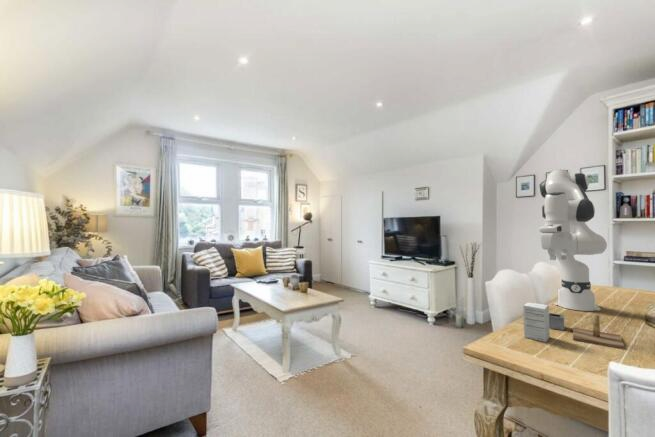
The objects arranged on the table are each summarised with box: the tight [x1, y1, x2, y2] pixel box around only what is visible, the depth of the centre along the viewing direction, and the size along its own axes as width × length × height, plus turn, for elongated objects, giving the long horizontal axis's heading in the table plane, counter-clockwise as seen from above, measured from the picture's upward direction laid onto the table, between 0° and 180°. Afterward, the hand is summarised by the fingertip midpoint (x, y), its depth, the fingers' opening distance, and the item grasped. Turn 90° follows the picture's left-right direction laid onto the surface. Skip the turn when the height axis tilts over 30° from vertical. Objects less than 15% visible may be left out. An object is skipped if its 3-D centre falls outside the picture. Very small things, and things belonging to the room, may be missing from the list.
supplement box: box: [522, 301, 551, 343], centre depth 119 cm, size 7×7×13 cm
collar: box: [549, 312, 565, 331], centre depth 130 cm, size 6×6×5 cm
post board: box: [572, 314, 625, 350], centre depth 116 cm, size 14×14×9 cm
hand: (558, 259), depth 132 cm, fingers open, 8 cm apart
